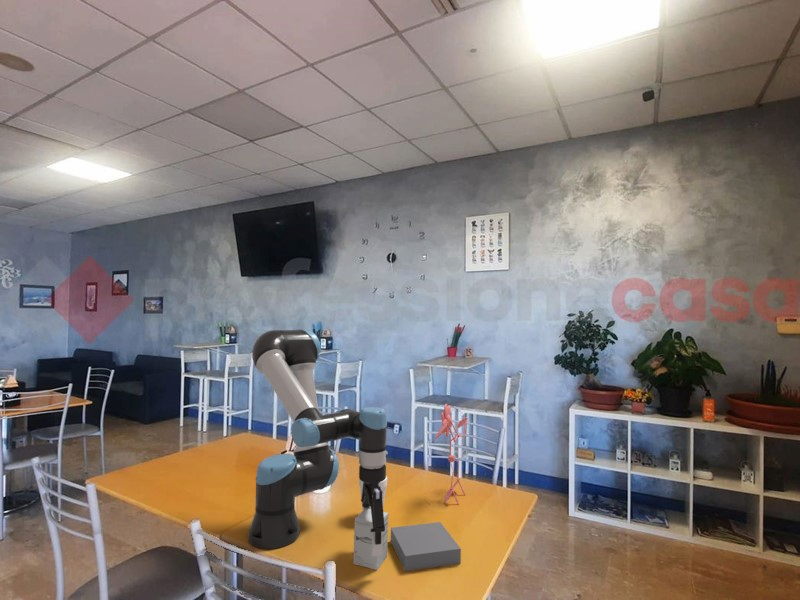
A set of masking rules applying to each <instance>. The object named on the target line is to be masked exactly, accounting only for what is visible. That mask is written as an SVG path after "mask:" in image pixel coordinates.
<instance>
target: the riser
mask: <svg viewBox="0 0 800 600" xmlns="http://www.w3.org/2000/svg"><path fill="white" fill-rule="evenodd" d="M390 543H391V545H392V547H393V549H394V551H395V553H396V555H397V557H398V559H399V562H400V563H401V566H402V568H403V570H404V571H405V572H411V571H417V570H424V569H431V568H437V567H438V568H439V567H444V566H445V567H446V566H451V565H458V564H459V565H460V564H461V561H462V559H461V558H462V553H461V552H462V548H461V546H459V544H458V543H457V542H456V540H455V538H453V537H452V535H451V534H450V533H449V531H448V530H447V529H446V527H445V526H444V525H443V523H442V522H441V521H437V522H428V523H420V524H411V525H410V524H409V525H404V526H393V527H390Z"/></svg>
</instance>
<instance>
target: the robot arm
mask: <svg viewBox="0 0 800 600" xmlns="http://www.w3.org/2000/svg"><path fill="white" fill-rule="evenodd" d="M321 351H322V347H321V342H320V339H319V337H318V336H317V334H316V333H314V331H312V330H306V329H281V330H278V329H273V330H269V331H268V330H267V331H266V332H263V333H262V334H261V335H260V336H258V338H257V339H256V341H255V342H254V344H253V347H252V351H251V352H252V354H251V357H252V362H253V365H254V366H255V368H256V369H257V371H258V372H259V373H260V374H263V375H264V376H265V378H266V380H267V381H268V383H269V385H270V386H271V388H272V389H273V392H274V393H275V394H276V396H277V398H278V399H279V401H280V402H281V404H282V406H283V408H284V409H285V411H286V413H287V414H288V415H289V418H290V419H291V421H292V425H291V429H290V434H291V436H292V442H293V443H294V444H295V446H296V447H295V448H294V450H292V451H293V454H292V453H282V454H280V453H278V454H274V455H270V456H268V457H266V458H264V459H263V460H261V461H260V462H259V464H258V465H257V468H256V474H255V475H256V476H255V511H254V515H253V517H252V521H251V523H250V527H249V529H248V536H247V537H248V543H249V545H251V546H252V547H254V548H258V549H266V550H270V549H278V548H279V549H280V548H283V547H286V546H289V545H290V544H292V543H294V542H296V541H297V539H299V537H300V534H301V532H300V529H301V526H300V521H299V519H298V515H297V512H296V509H295V504H296V503H295V501H296V498H297V497H299V496H302V495H305V494H309V493H312V492H315V491H319V490H321V491H322V490H323V489H325V488H327V487H330V486H332V485H333V484H334V483H335V481H336V479H337V478H338V475H339V470H340V463H339V458H338V455H337V454H336V452H335V451H334V449H331V448H330V446H329V443H328V442H333V441H338V440H342V439H348V438H352V439H356V440H358V441H359V447H358V449H359V450H358V456H359V457H358V463H359V467H358V478H359V479H360V480H361V481H363V489H362V497H361V496H360V502H361V506H363V507H364V508H363V509H362V511H363V510H364V509H365V508H367V509H371V515H372V523H373V529H371V530H370V531H371V532H372V556H380V555H382V541H383V532H384V531H385V526H384V514H383V512H384V506H383V502H382V490H381V488H380V487H379V483H380V482H381V481H383V480H385V478H386V476H387V465H386V463H387V457H386V456H387V455H388V454H389V453H388V451H387V426H388V422H387V412H386V410H385V409H384V408H383V407H376V406H373V407H372V406H370V407H364V408H363V407H362V409H360V410H359V411H357V410H354V409H351V408H339V409H337V410H336V411H335V412H333V413H327V414H321V412H320V410H319V405H318V404H319V403H318V397H317V390H316V389H317V388H316V384H315V376H314V369H315V367H316V366H317V361H318V360H319V358H320V357H321V354H320V353H321ZM359 479H358V480H359ZM362 502H363V503H362ZM369 506H371V507H369Z"/></svg>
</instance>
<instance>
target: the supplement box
mask: <svg viewBox="0 0 800 600" xmlns="http://www.w3.org/2000/svg"><path fill="white" fill-rule="evenodd" d="M383 514H384V526H385V531H384V532H383V541H382V555H380V556H372V532H371V531H370V530H371V529H373V523H372V515H371V509H367V508H365V509H364V510H363V509H362V511H361V512H360V513H359V514H358V515H357V516H355V518H354V533H353V534H354V535H353V536H354V537H353V538H354V539H353V565H355V566H356V565H357V566H360V567H364V568H368V569H372V570H375V571H377V570H378V569H379V568H380V567H381V566H382V565H383V563H384V562H385V561H386V559H387V557H388V536H389V534H388V533H389V532H388V531H389V530H388V529H389V512H387V511H383Z"/></svg>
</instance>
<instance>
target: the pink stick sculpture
mask: <svg viewBox="0 0 800 600" xmlns="http://www.w3.org/2000/svg"><path fill="white" fill-rule="evenodd" d="M451 407H452V406H451V405H448V404H447V403H445V404H444V408H443V412H441V416H440V417H441V421H442V422H441V423H442V424H441V425H442V426H441V428H439V430H438V431H437V433H436V435H435V437H434V440H437V439H438V437H440V436H441V434H442V435H445V437H446V438H449V435H451V437H452V438H451V439H450V440H449V455H448V458H447V460H448V462H449V463H450V467H451V470H452V472H451V473H452V474H451V475H452V476H451V480H450V481H451V482H450V487H449V489H448V490H447V492H446V494H445V496H444V500H443V504H446V502H447V501H448V500H449V499H450V498H451V496H452V495H453V497H454V498H455V502H456V503H457V505H459V504H460V503H459V500H458V498H457V496H456V494H455V492H454V488H455V487H456V486H457V485H459V487H460V490H461V491H462V494H463V496H465V495H466V492H465V491H464V488H463V486H462V484H461V481H460V480H461V477H459V471H460V469H459V468H460V461H459V460H458V459H456V456H455V455H454V454H452V441H453V443H456V441H457V439H458V438H460V437H462V438H465V437H466V429H467V423H468V416H466V417H465V418H463V419H462V420H460V421H459V422H458V423H457V426H456V427H457V429H460V428H461V427H462V426H464V429H463V435H461V434H460V433H458V431H457V429H456V427H455V425H454V423H453V421H452V417H451V411H452V410H451ZM451 427H453V430H454V432H455V434H456V436H454V434H453V432H452V429H451ZM454 462H457V474H456V475H457V477H456V478H457V479H456V481H455V482H454V484H453V479H454V473H455V471H454V467H453V464H452V463H454ZM467 489H469V490H471V488H470V487H467ZM433 490H434V488H432V489H431V491H433ZM428 492H430V490H428V491H427V493H428ZM427 493H426V494H425V493H424V494H425V495H424V496H426V495H427ZM427 504H428V505H429V506H431V505H430V503H429V502H427Z"/></svg>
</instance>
